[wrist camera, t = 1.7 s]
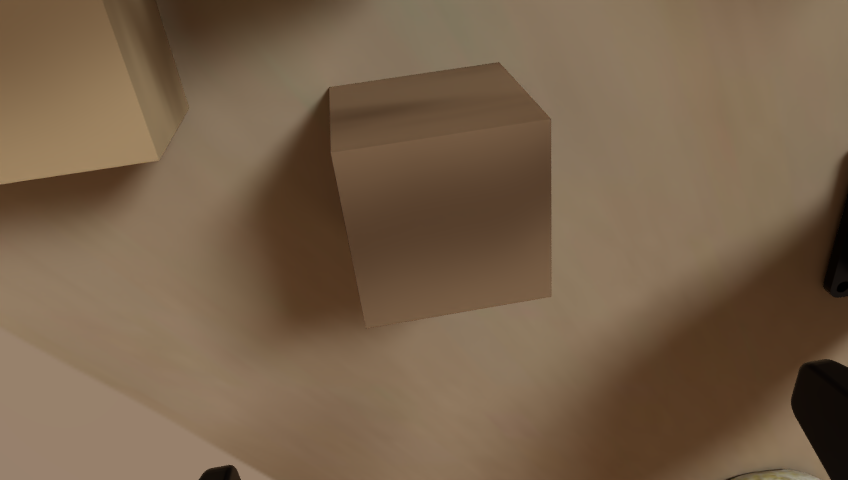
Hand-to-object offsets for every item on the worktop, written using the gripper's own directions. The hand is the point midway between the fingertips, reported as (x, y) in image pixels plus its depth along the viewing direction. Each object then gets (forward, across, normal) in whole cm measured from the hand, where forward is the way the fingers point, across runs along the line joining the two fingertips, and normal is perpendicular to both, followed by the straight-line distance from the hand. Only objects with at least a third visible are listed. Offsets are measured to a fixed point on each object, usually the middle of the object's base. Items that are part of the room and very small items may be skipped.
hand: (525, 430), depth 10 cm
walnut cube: (+11, 0, 0) cm, 11 cm away
